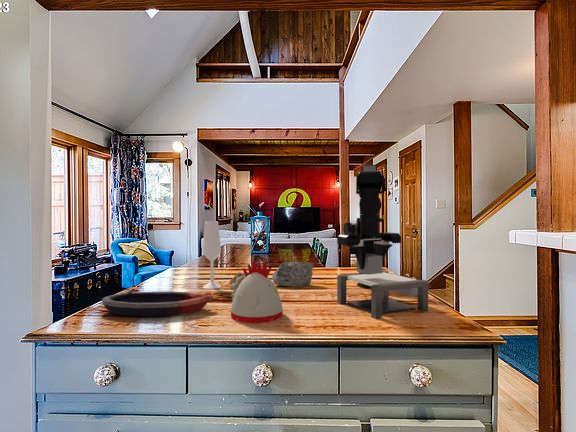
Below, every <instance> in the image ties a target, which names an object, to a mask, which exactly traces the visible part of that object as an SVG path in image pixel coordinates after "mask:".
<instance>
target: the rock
mask: <svg viewBox="0 0 576 432" xmlns="http://www.w3.org/2000/svg"><path fill="white" fill-rule="evenodd" d="M313 269H314V263H313V262H304V261H303V262H301V261H300V262H299V261H290V262H289V261H288V262H287V261H285V262H282V263H281V264H280V265H279V266H278V267H277V269H276V270H275V271H274V273H273V274H272V275H271V276H272V282H273V283H274V285H275V286H276V285H277V286H281V287H295V288H296V287H297V288H298V287H301V288H302V287H308V286H309V285H310V284H311V283H312V280H313V279H312V278H313Z"/></svg>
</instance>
